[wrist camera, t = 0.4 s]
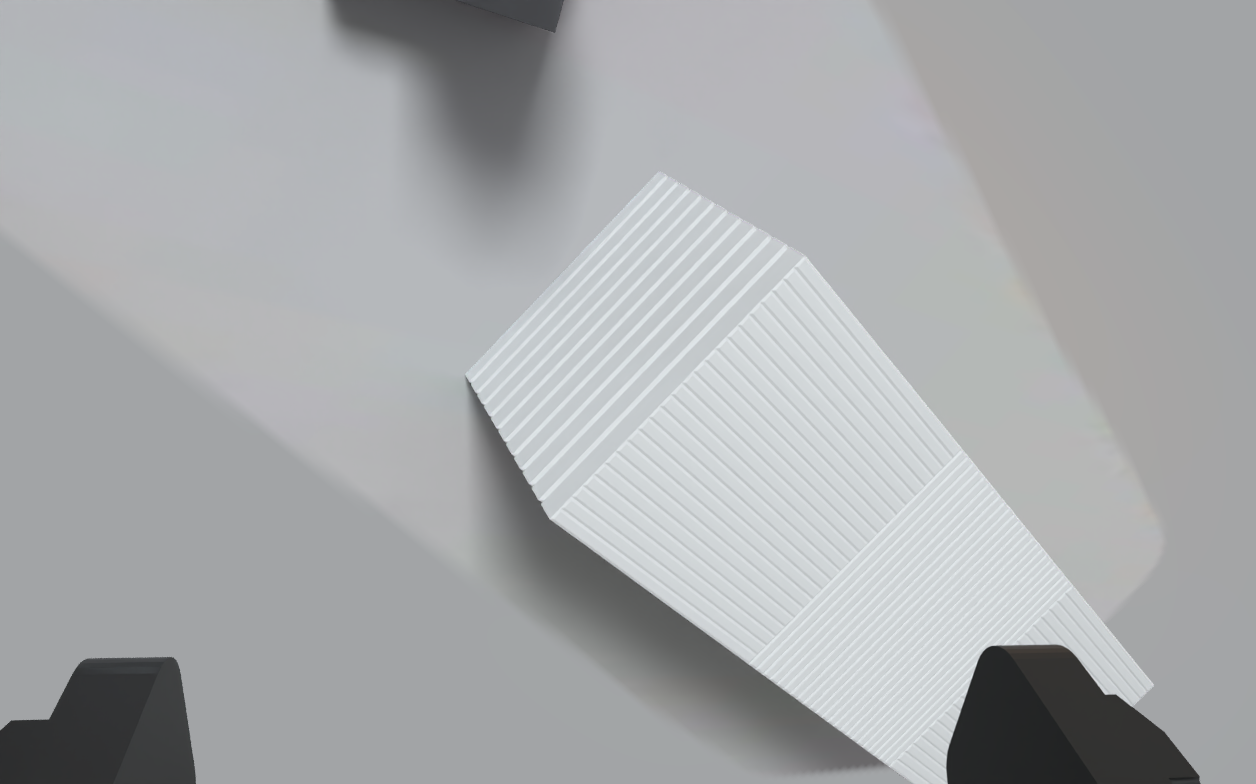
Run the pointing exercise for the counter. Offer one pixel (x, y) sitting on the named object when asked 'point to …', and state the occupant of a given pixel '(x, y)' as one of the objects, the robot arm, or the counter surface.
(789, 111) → the counter surface
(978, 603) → the stack of papers
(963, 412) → the counter surface
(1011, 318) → the counter surface
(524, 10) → the holster
